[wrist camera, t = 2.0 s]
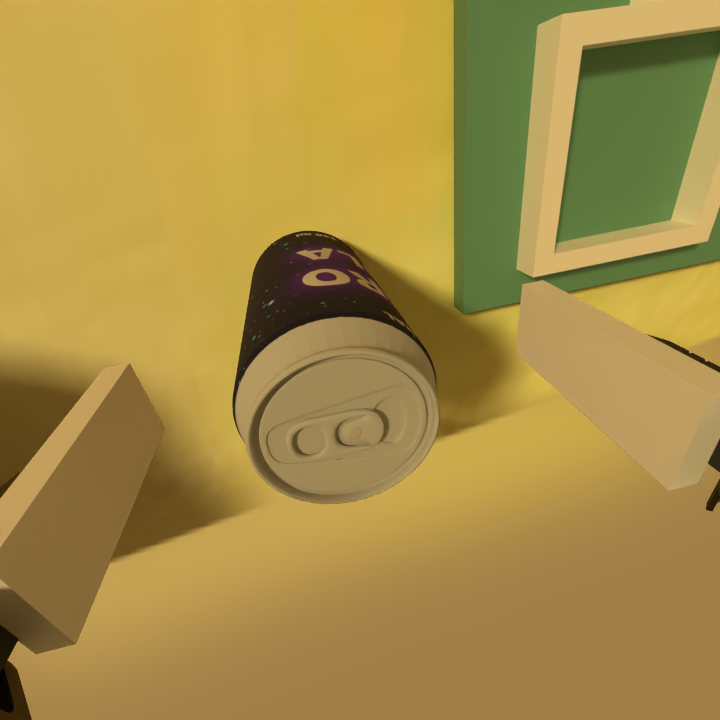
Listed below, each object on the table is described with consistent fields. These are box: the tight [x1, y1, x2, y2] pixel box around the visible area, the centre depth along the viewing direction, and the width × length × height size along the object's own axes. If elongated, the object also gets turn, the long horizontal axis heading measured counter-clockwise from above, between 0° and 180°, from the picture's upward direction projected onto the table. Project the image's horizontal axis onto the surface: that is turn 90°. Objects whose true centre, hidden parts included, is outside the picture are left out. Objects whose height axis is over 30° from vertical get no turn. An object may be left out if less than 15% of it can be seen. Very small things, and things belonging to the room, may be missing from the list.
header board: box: [454, 0, 720, 314], centre depth 18 cm, size 18×14×3 cm
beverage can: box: [232, 231, 440, 504], centre depth 14 cm, size 6×6×12 cm
